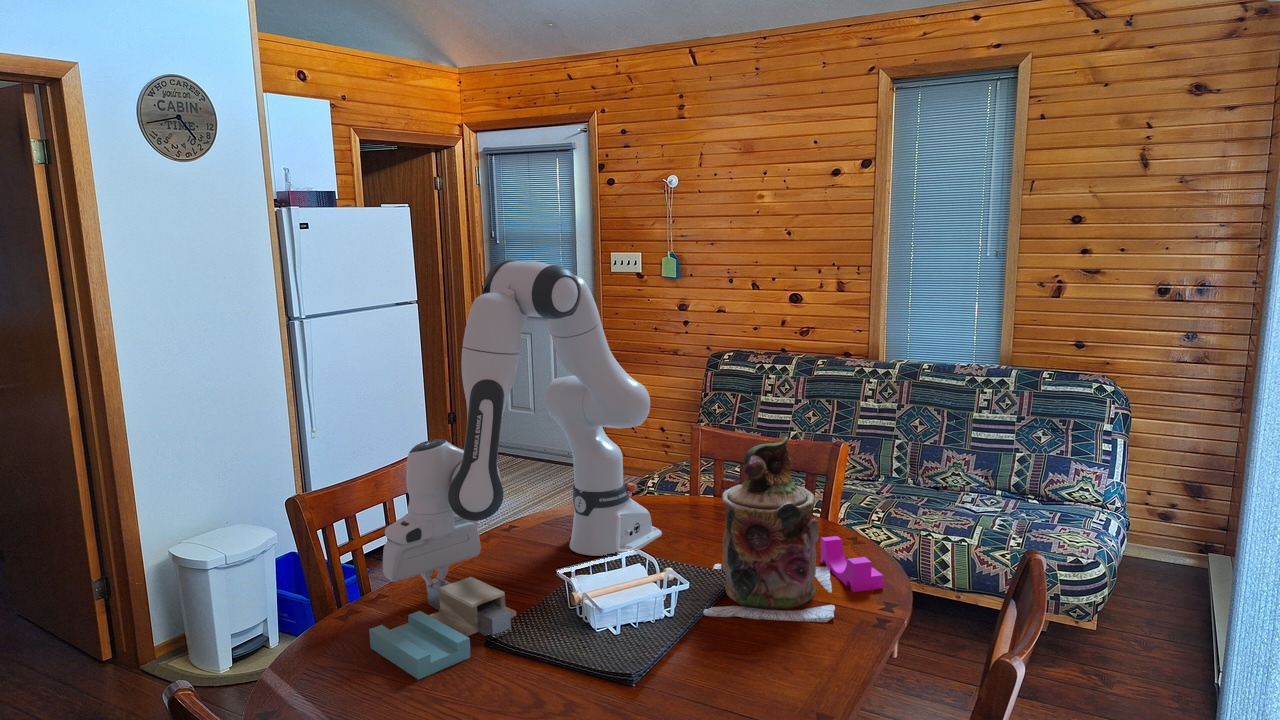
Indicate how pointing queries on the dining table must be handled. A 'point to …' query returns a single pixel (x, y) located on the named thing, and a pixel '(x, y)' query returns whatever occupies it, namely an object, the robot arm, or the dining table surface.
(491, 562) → the dining table surface
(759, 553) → the cookie jar
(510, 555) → the dining table surface
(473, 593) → the bracket
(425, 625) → the teal grooved block
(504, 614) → the gray rectangular bar
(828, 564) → the toy block
